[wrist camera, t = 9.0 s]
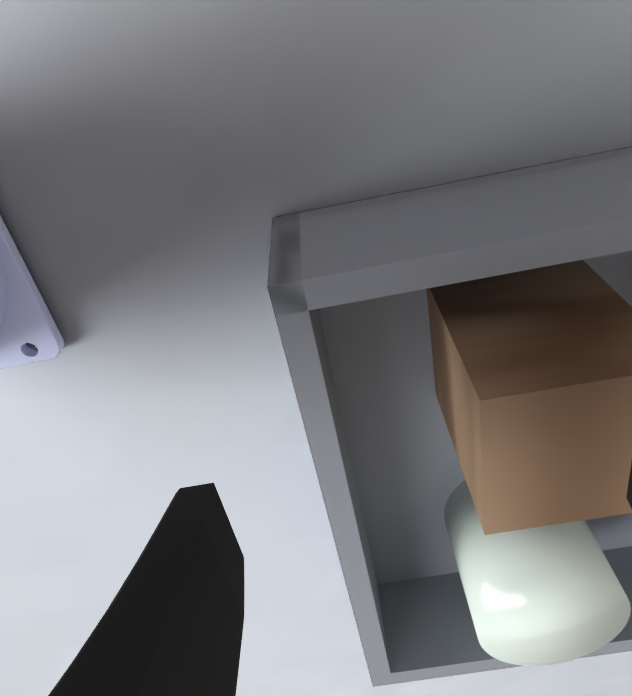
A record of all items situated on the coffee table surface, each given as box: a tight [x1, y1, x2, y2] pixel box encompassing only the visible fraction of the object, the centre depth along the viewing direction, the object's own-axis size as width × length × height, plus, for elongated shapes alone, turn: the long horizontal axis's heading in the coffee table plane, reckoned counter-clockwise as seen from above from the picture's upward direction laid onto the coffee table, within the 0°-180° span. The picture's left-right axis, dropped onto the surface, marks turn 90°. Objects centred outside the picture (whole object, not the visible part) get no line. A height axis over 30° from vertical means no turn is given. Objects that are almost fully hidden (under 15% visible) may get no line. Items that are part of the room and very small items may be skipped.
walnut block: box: [427, 260, 632, 535], centre depth 16 cm, size 4×4×6 cm
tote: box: [267, 147, 632, 687], centre depth 20 cm, size 13×18×4 cm
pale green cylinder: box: [444, 480, 631, 666], centre depth 21 cm, size 5×5×5 cm
